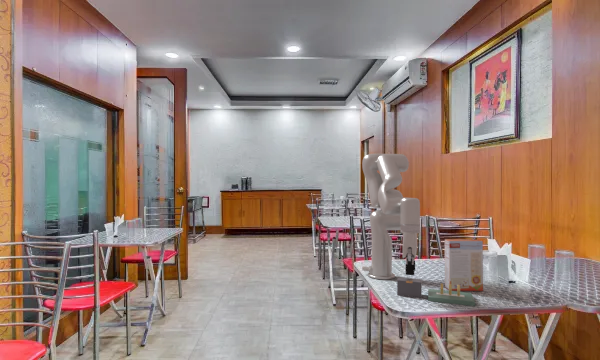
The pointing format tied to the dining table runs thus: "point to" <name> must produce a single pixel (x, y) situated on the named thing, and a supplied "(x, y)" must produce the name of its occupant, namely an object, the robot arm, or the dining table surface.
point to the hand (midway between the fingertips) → (410, 272)
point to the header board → (451, 296)
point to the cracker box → (464, 264)
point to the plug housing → (409, 287)
